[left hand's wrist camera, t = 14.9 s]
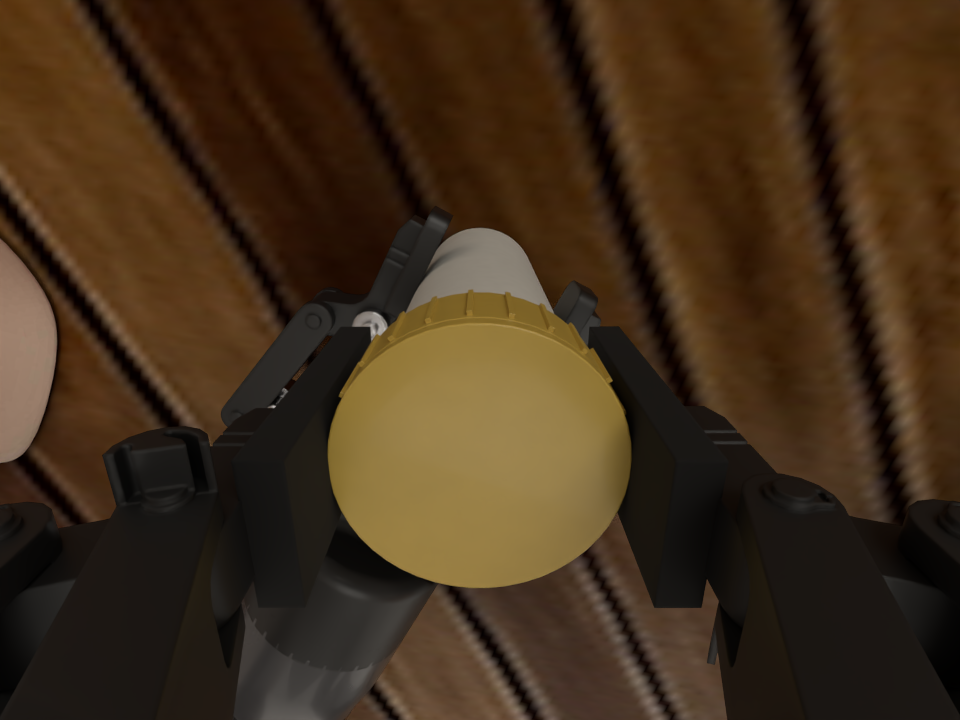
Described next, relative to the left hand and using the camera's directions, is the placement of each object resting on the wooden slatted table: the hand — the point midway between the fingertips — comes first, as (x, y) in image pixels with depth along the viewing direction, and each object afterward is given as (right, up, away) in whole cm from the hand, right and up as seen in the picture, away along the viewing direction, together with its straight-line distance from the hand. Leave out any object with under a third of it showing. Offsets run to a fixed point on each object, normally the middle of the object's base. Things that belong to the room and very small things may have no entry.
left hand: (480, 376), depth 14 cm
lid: (0, -2, -4) cm, 4 cm away
